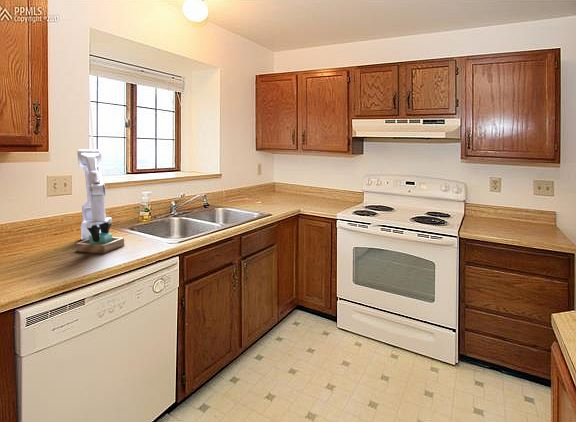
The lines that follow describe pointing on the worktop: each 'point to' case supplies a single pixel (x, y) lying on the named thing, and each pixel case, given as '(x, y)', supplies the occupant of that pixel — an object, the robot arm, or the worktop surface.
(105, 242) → the teal crate
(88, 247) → the tray
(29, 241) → the worktop surface
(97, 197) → the robot arm
